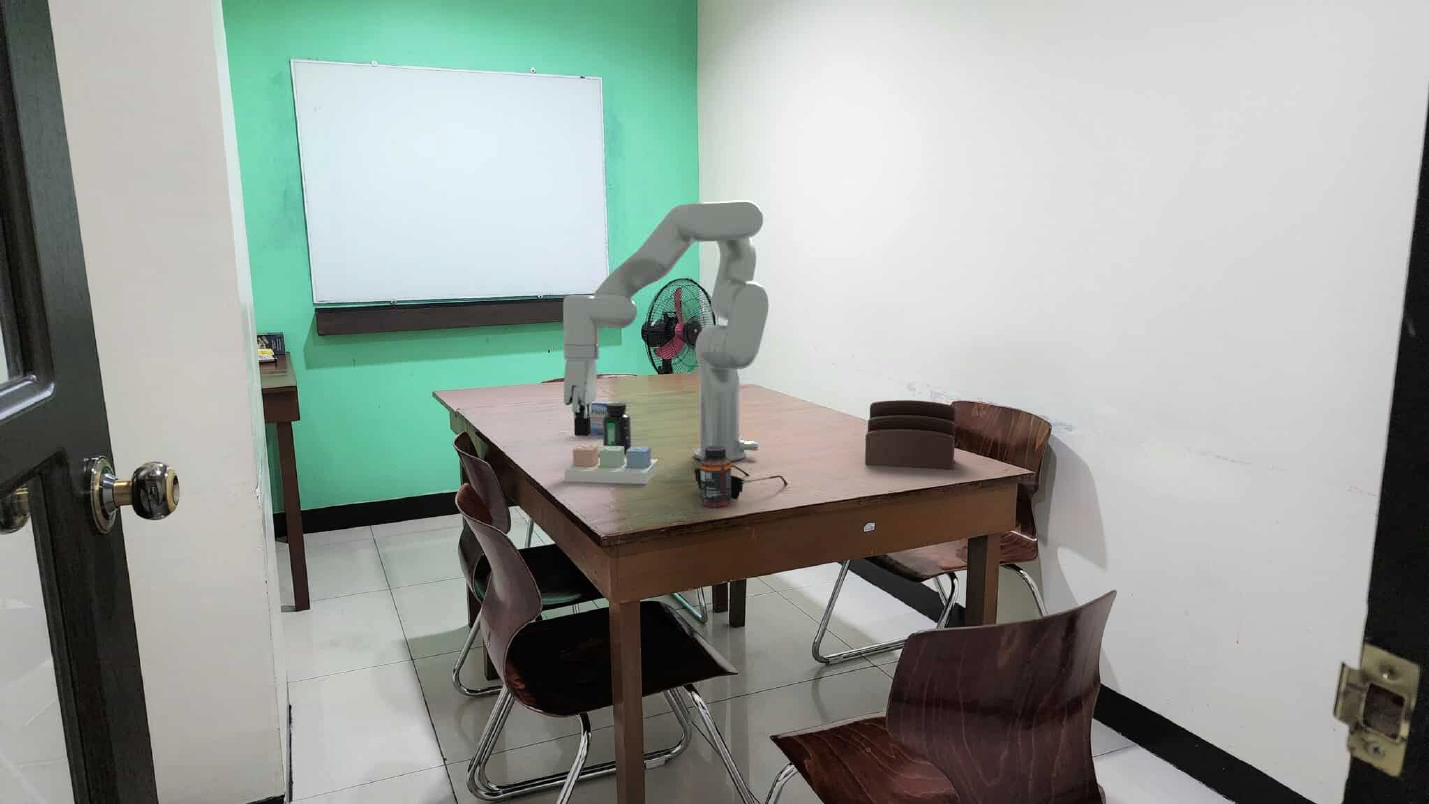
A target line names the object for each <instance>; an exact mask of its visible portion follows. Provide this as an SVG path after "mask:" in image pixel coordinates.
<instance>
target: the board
mask: <svg viewBox="0 0 1429 804" xmlns="http://www.w3.org/2000/svg"><path fill="white" fill-rule="evenodd" d="M624 460H625V464H624V465H623V466H622V467H621V468H610V467H600V457H598V462H599V463H598V464H597V465H596V466H594V467H575V466H573V463H572V464H571V465H569V466H568V467H567V468H565V470H564V482H573V483H574V482H575V483H600V484H601V483H602V484H604V483H605V484H632V485H635V484H636V485H647V484H648V483H649V481H650V480H652V478H653V477H654V476H655V475H656V474H657V473H658V471H659V459H658V458H656V459H654V458H651V465H650V466H649V467H648V468H647V469H645V468H627V461H626V458H624Z"/></svg>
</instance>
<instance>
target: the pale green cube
mask: <svg viewBox="0 0 1429 804" xmlns="http://www.w3.org/2000/svg"><path fill="white" fill-rule="evenodd" d="M598 454H599V458H600V467H610V468H621V467H622V466H623V465H624V464H625V460H624V459H625V454H624V446H603V447H602V448H600V449H598Z"/></svg>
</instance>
